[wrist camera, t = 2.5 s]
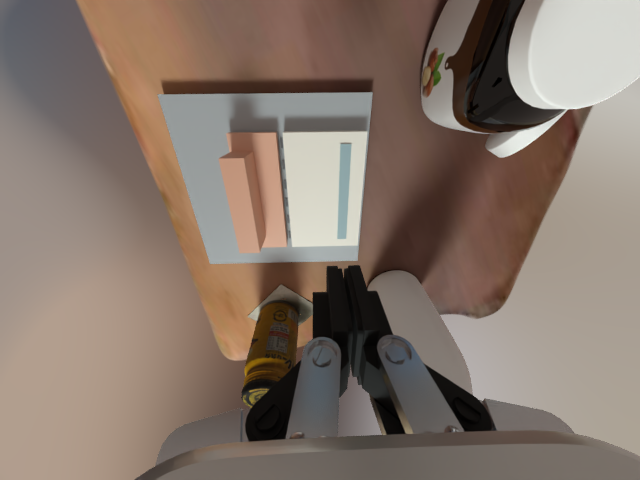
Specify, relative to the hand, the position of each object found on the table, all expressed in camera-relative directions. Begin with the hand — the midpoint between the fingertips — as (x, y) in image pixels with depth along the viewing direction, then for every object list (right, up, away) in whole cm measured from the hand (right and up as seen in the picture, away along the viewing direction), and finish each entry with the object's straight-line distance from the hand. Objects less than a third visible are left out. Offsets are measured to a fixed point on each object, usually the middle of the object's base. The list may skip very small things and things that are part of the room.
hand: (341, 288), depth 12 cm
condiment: (-7, -8, +23) cm, 26 cm away
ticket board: (-6, +8, +13) cm, 17 cm away
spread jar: (+13, +17, +9) cm, 23 cm away
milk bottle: (+9, -5, +21) cm, 24 cm away
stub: (-7, +7, +12) cm, 16 cm away
